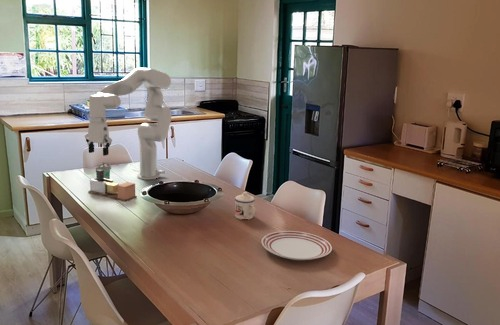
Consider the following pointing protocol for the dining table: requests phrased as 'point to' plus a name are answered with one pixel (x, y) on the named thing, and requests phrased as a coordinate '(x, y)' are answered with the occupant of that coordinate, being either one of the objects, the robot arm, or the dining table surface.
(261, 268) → the dining table surface
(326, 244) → the dinner plate
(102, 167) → the food container
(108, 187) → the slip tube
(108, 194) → the base board
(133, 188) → the socket block
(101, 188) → the white rectangular block
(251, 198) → the teacup with lid
